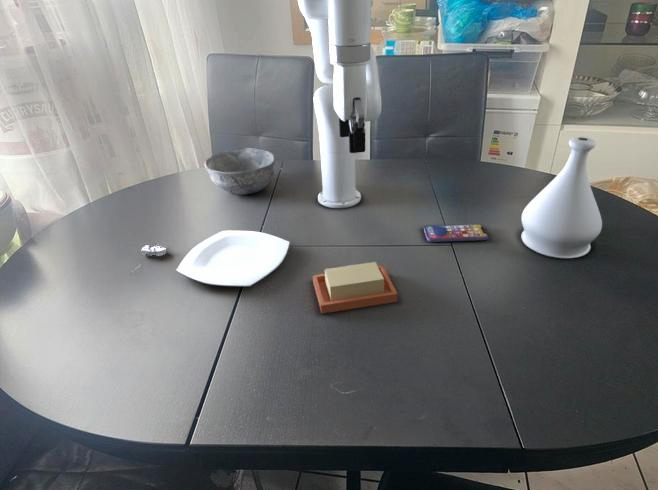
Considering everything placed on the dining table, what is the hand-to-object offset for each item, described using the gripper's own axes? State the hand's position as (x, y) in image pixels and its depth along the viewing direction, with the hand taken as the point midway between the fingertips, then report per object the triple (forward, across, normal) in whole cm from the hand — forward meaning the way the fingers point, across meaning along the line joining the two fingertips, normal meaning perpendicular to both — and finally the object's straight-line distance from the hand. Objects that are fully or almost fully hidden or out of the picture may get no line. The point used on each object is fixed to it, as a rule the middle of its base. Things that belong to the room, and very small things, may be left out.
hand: (351, 143), depth 93 cm
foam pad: (+25, +17, -4) cm, 30 cm away
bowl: (+27, -42, -25) cm, 55 cm away
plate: (+26, -1, -28) cm, 38 cm away
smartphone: (+26, 0, +26) cm, 37 cm away
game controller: (+26, -7, -49) cm, 56 cm away
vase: (+26, +9, +48) cm, 55 cm away
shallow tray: (+26, +17, -4) cm, 31 cm away
